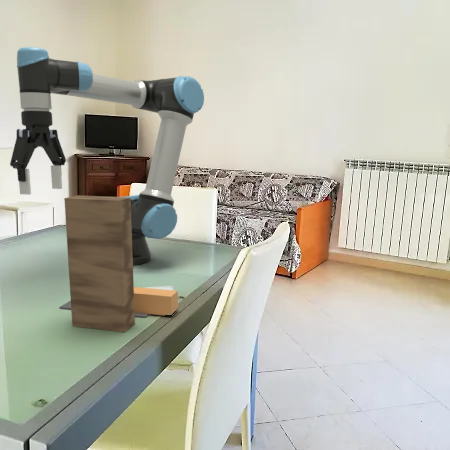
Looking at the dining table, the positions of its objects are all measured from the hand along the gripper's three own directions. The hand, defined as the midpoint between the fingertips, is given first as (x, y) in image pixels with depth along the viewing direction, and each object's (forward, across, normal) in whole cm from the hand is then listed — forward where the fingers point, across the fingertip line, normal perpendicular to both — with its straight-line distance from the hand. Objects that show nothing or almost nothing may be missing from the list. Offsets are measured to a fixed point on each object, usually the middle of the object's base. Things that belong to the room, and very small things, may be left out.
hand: (42, 191), depth 126 cm
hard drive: (+29, -5, +31) cm, 43 cm away
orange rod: (+28, +6, +29) cm, 41 cm away
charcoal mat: (+29, +6, +22) cm, 37 cm away
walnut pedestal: (+29, +16, +26) cm, 42 cm away
